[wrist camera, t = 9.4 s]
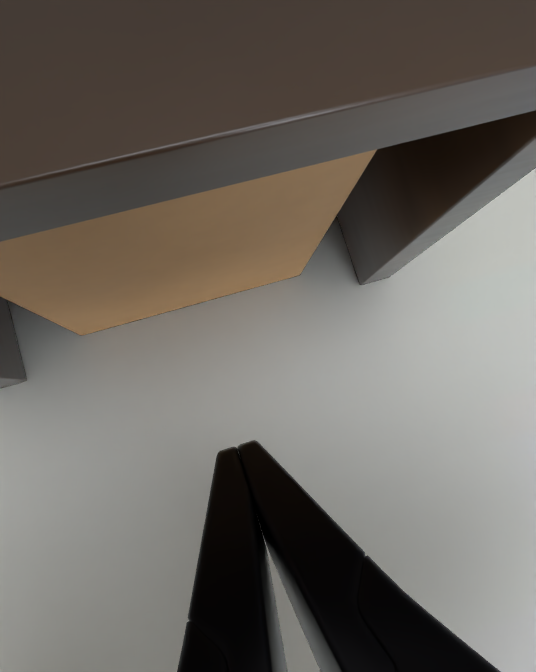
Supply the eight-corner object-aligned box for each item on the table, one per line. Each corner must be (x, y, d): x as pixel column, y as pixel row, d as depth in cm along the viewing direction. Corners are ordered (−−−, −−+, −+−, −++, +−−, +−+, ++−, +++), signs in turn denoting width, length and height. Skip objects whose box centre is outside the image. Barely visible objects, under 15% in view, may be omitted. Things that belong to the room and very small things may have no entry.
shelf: (389, 277, 18) (739, 17, 6) (-10, 391, 16) (-732, 357, 4) (278, -49, 19) (372, -792, 7) (-100, 19, 17) (-822, -848, 5)
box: (300, 275, 17) (385, 139, 8) (77, 337, 16) (-99, 256, 7) (223, 33, 18) (225, -317, 9) (8, 76, 17) (-218, -274, 8)
